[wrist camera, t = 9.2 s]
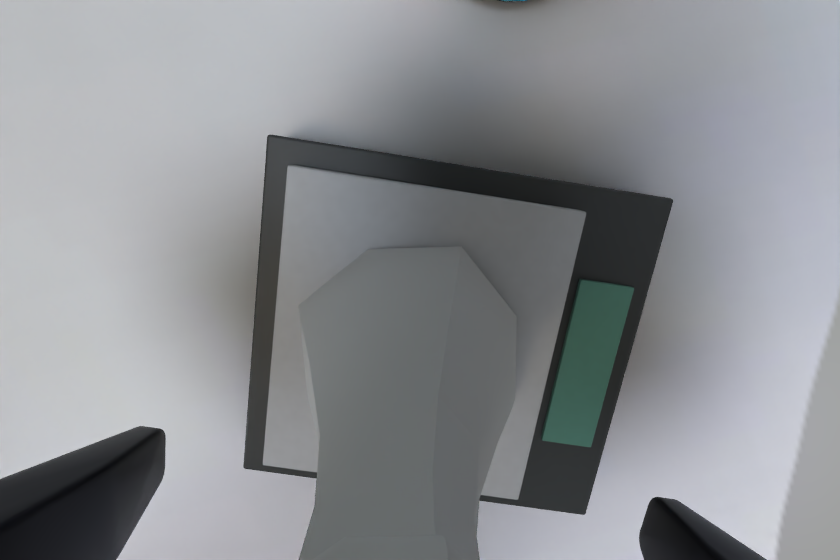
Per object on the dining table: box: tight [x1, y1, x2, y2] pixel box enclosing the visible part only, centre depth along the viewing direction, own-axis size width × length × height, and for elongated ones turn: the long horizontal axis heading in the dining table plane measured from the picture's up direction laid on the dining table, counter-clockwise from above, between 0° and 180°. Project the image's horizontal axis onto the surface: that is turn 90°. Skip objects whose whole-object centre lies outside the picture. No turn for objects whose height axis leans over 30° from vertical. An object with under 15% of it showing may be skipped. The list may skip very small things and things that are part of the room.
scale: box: [244, 135, 673, 515], centre depth 16 cm, size 12×13×2 cm
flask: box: [298, 246, 517, 560], centre depth 10 cm, size 7×7×10 cm
